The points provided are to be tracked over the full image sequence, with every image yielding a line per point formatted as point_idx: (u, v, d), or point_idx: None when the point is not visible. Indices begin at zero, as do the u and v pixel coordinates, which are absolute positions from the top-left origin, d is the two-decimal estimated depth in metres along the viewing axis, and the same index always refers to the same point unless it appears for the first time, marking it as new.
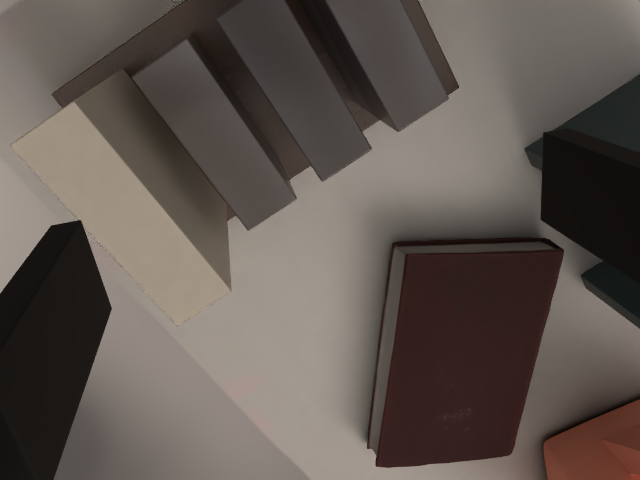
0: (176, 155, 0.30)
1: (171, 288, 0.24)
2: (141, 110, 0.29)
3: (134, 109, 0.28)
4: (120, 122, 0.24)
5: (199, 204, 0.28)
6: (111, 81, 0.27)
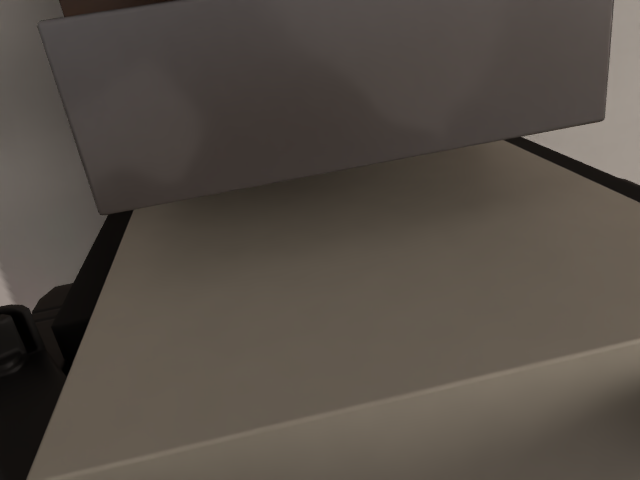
0: None
1: None
2: None
3: (206, 211, 0.13)
4: (196, 294, 0.09)
5: (459, 192, 0.12)
6: (133, 228, 0.12)
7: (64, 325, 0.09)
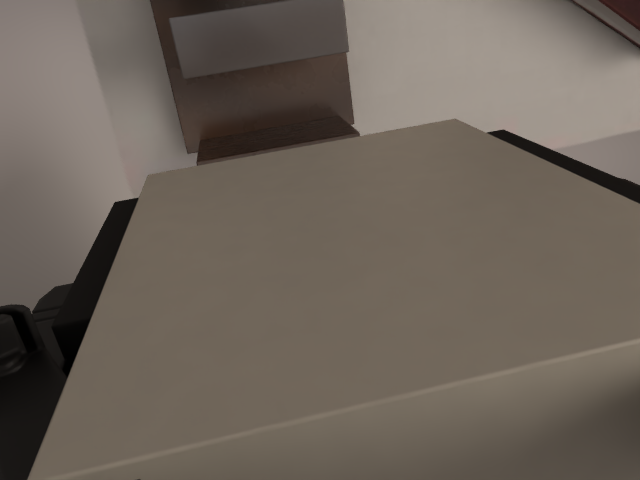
0: (331, 172, 0.14)
1: None
2: (219, 193, 0.14)
3: (206, 212, 0.13)
4: (196, 294, 0.09)
5: (458, 192, 0.12)
6: (134, 229, 0.12)
7: (64, 325, 0.09)
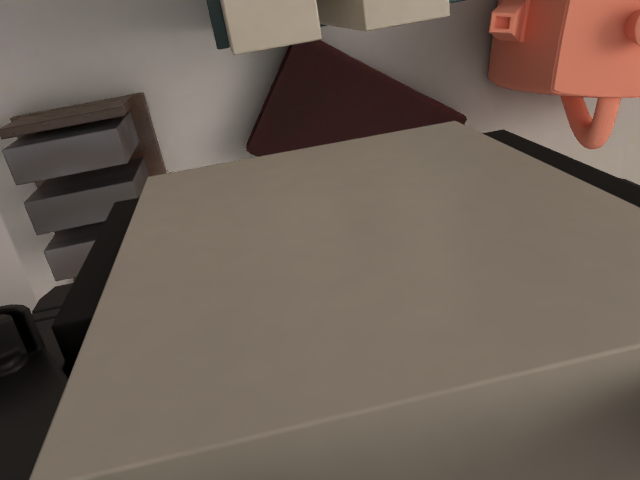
0: (330, 174, 0.14)
1: None
2: (219, 195, 0.14)
3: (206, 214, 0.13)
4: (196, 298, 0.09)
5: (458, 195, 0.12)
6: (133, 232, 0.12)
7: (64, 325, 0.09)
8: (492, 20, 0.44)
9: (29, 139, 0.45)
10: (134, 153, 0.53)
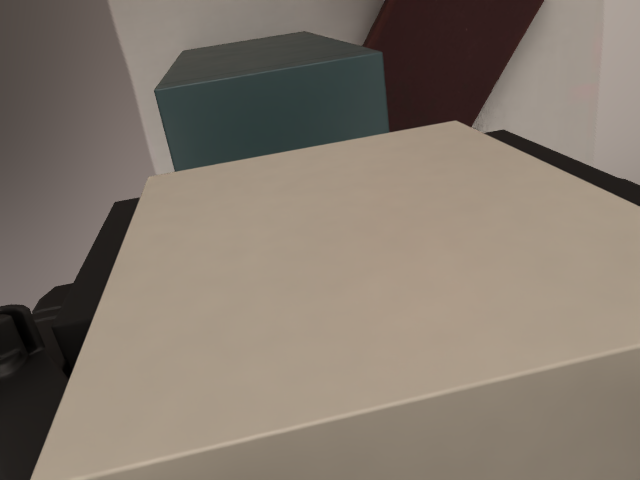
0: (331, 174, 0.14)
1: None
2: (220, 195, 0.14)
3: (207, 214, 0.13)
4: (197, 298, 0.09)
5: (459, 195, 0.12)
6: (134, 231, 0.12)
7: (64, 325, 0.09)
8: None
9: None
10: None
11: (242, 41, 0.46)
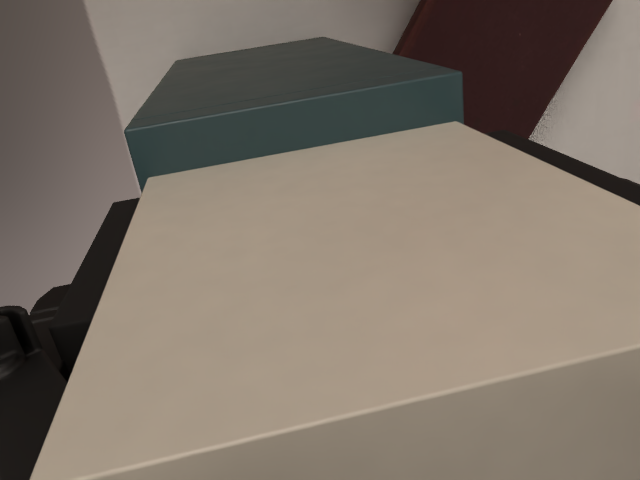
0: (331, 175, 0.14)
1: None
2: (220, 196, 0.14)
3: (207, 215, 0.13)
4: (197, 298, 0.09)
5: (459, 195, 0.12)
6: (134, 232, 0.12)
7: (61, 327, 0.09)
8: None
9: None
10: None
11: (248, 49, 0.38)
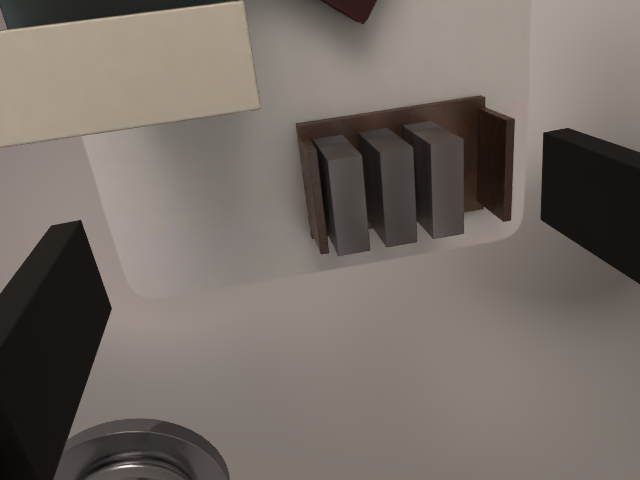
0: None
1: None
2: None
3: None
4: None
5: None
6: None
7: None
8: None
9: (331, 231, 0.51)
10: (353, 140, 0.53)
11: None
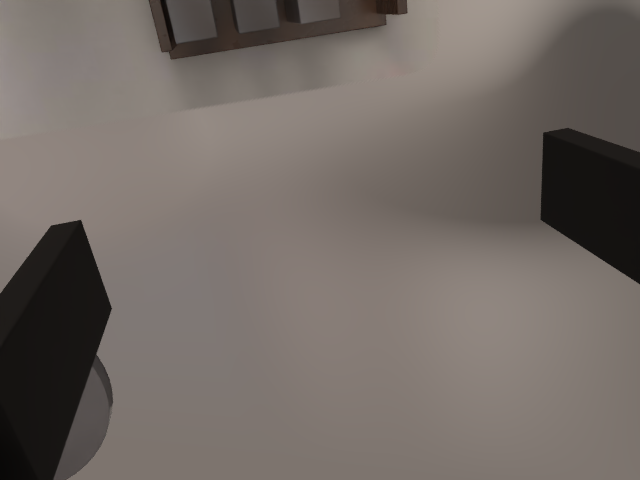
0: None
1: None
2: None
3: None
4: None
5: None
6: None
7: None
8: None
9: None
10: None
11: None
